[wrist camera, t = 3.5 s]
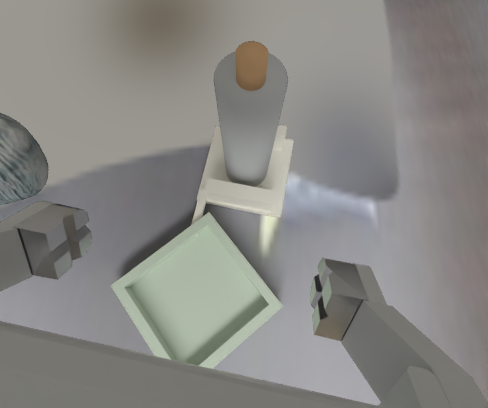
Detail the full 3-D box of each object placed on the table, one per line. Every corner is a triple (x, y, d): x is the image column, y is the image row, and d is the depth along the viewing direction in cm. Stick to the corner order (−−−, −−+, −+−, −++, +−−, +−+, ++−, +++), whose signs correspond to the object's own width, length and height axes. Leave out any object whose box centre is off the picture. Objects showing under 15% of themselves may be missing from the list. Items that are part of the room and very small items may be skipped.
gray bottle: (249, 142, 27) (257, 10, 14) (275, 171, 26) (310, 59, 13) (217, 165, 26) (193, 48, 13) (243, 196, 25) (245, 104, 12)
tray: (211, 216, 25) (209, 212, 24) (280, 304, 23) (283, 306, 22) (120, 285, 24) (110, 285, 22) (185, 387, 22) (180, 396, 20)
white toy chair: (292, 144, 28) (298, 126, 25) (273, 253, 25) (278, 249, 21) (216, 130, 28) (213, 110, 25) (188, 236, 25) (181, 229, 22)
